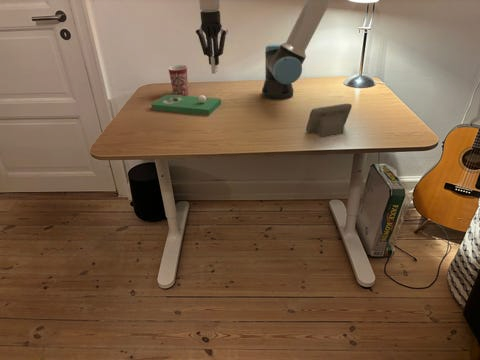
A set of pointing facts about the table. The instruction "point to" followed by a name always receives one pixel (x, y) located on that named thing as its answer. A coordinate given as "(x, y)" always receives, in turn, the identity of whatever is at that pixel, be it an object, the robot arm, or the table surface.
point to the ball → (202, 99)
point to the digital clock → (328, 120)
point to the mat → (186, 104)
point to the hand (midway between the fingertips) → (214, 72)
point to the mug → (179, 79)
